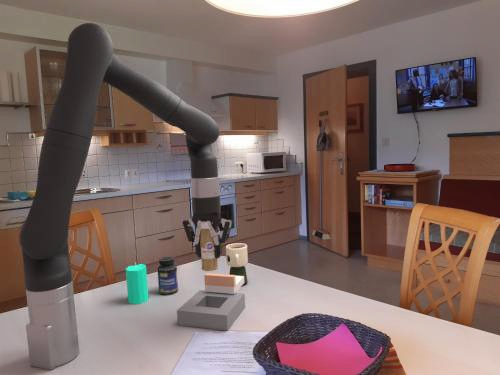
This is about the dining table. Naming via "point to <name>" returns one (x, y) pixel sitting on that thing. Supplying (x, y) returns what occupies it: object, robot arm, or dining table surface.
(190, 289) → the dining table surface
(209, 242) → the sprinkles bottle
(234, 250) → the character mug
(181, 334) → the dining table surface
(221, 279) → the panel
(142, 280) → the candle
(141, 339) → the dining table surface
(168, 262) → the pill bottle
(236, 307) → the socket block
